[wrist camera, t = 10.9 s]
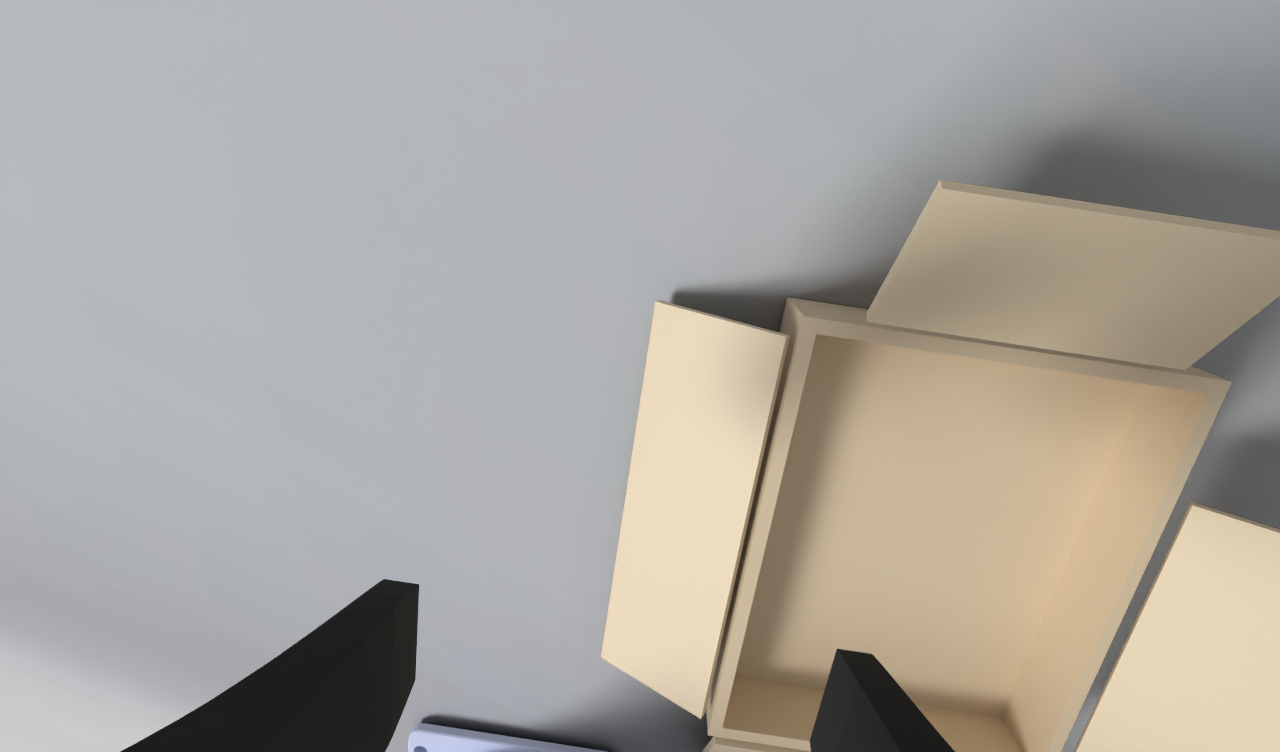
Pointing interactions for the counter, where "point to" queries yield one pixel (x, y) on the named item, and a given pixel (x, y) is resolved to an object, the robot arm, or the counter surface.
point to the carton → (889, 520)
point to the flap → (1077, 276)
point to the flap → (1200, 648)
